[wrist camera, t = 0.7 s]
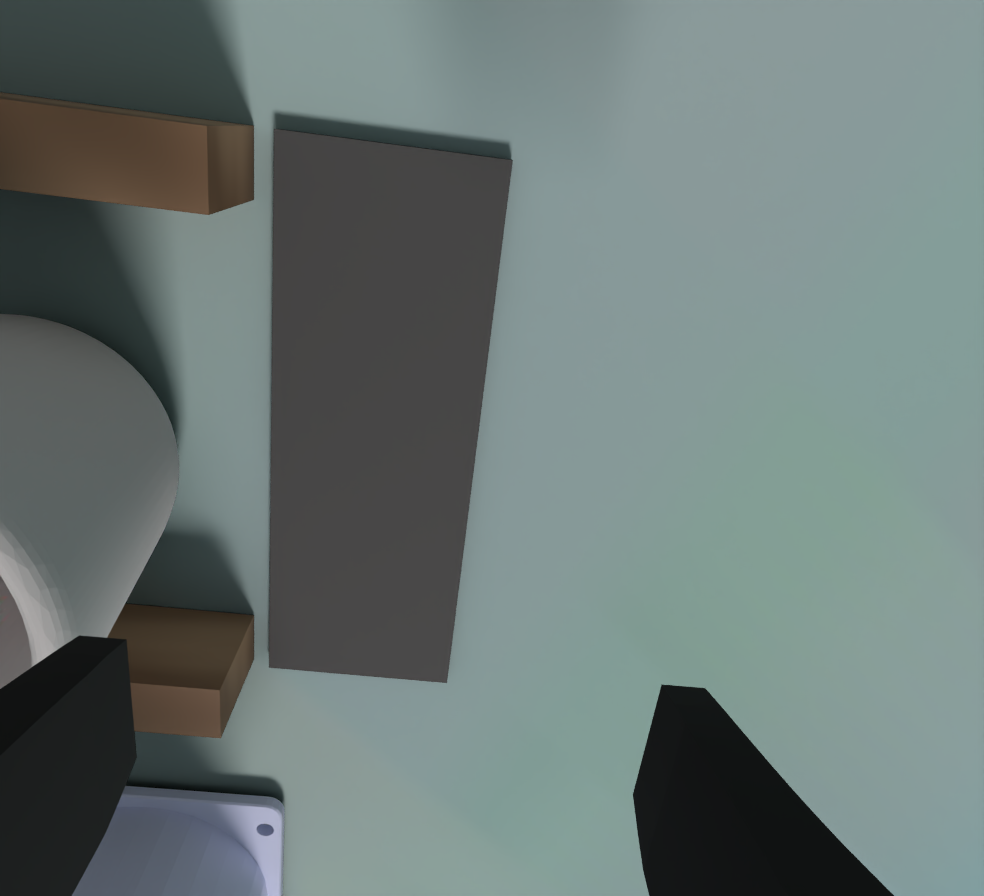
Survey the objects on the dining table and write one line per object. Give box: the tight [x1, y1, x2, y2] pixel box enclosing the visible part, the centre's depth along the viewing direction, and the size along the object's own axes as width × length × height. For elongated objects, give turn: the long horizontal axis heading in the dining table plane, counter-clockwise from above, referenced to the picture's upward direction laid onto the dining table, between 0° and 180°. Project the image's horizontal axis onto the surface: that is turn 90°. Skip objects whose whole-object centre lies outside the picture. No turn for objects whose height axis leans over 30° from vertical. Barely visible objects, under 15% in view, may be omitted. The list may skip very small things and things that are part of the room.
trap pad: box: [269, 129, 513, 683], centre depth 19 cm, size 14×5×1 cm, turn 173°
